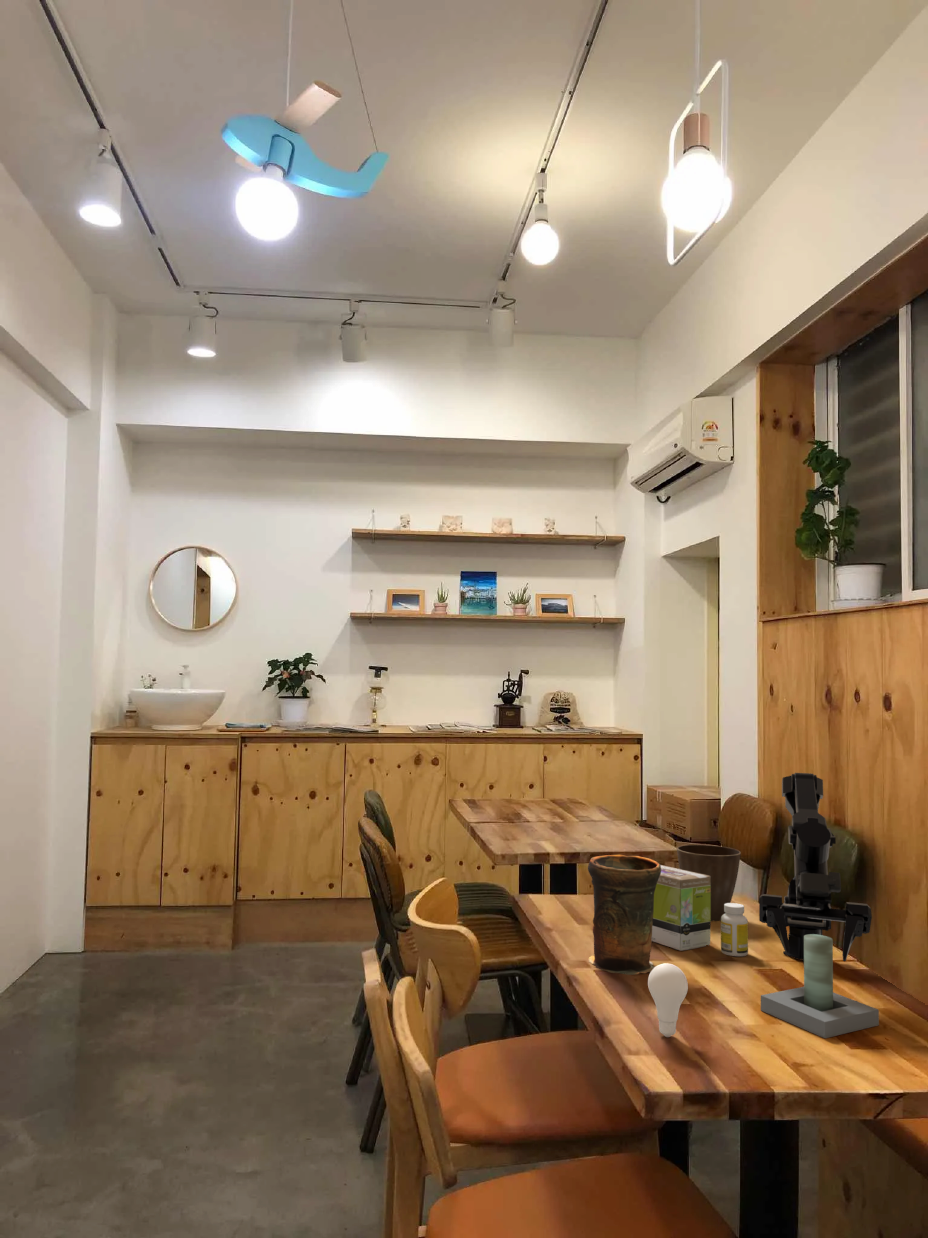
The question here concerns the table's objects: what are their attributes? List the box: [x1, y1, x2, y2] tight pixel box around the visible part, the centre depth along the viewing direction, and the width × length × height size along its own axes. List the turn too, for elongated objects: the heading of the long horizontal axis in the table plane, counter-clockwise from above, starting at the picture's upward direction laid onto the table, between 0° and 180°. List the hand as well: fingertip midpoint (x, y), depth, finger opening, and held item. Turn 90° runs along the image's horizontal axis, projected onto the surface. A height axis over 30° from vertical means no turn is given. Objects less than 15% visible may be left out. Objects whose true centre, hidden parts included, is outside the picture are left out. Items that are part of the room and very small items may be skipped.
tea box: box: [651, 864, 712, 952], centre depth 190 cm, size 15×10×15 cm, turn 34°
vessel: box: [587, 854, 661, 976], centre depth 173 cm, size 14×14×20 cm
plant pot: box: [676, 844, 742, 922], centre depth 210 cm, size 15×15×16 cm
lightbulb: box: [647, 962, 689, 1038], centre depth 136 cm, size 6×6×11 cm
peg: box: [803, 934, 834, 1012], centre depth 146 cm, size 4×4×13 cm
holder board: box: [760, 986, 880, 1039], centre depth 145 cm, size 13×13×2 cm
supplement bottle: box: [720, 902, 749, 957], centre depth 181 cm, size 5×5×10 cm
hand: (815, 957), depth 152 cm, fingers open, 9 cm apart
